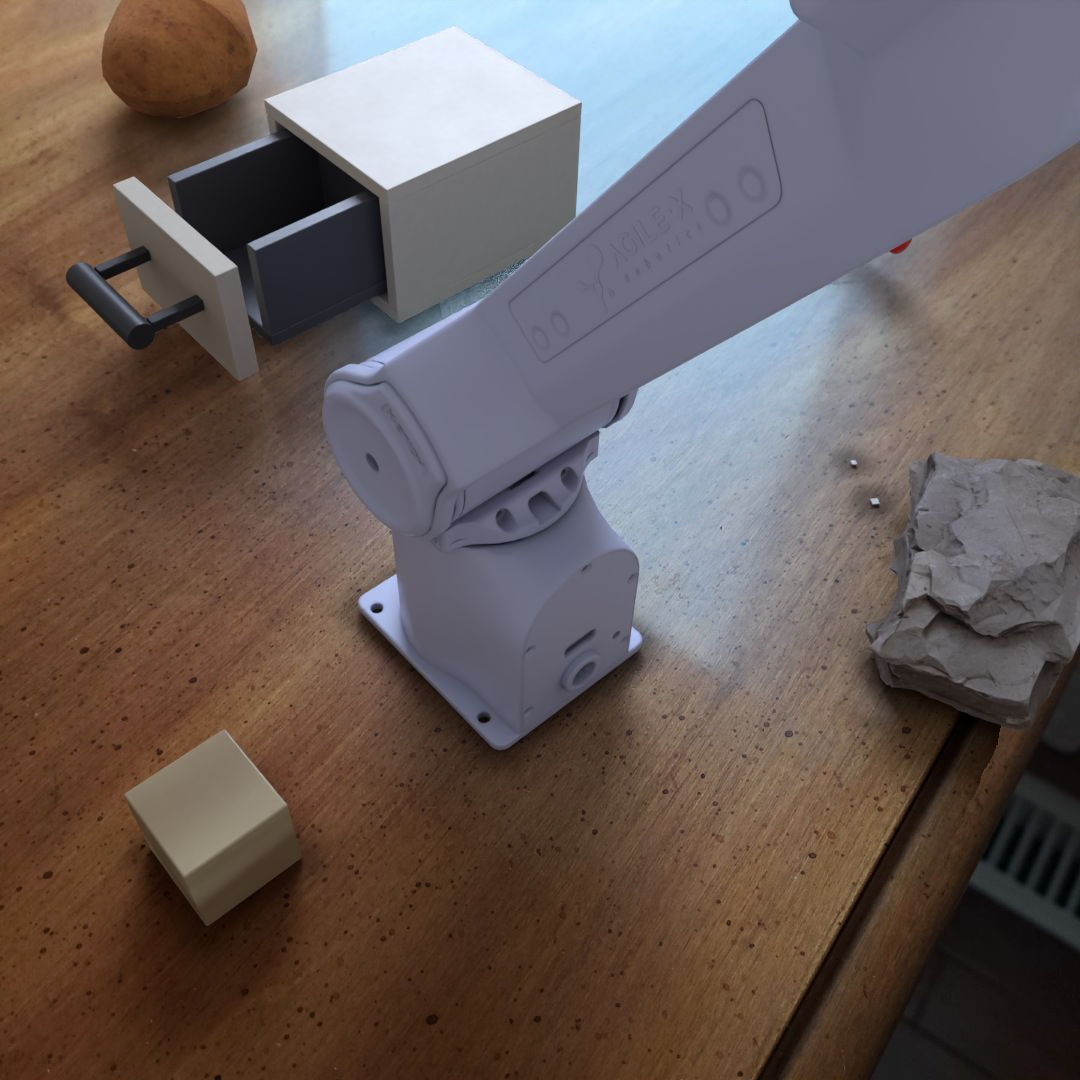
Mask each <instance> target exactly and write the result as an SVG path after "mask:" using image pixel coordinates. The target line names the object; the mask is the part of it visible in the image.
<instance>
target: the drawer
mask: <svg viewBox="0 0 1080 1080" xmlns="http://www.w3.org/2000/svg"><path fill="white" fill-rule="evenodd" d="M166 180H167V183H168V189H169V192H170V195H171V200H172V204H173V209H172V208H171V207H170V206H169V205H167V204H166V203H165V202H164V201H163V200H162V199H161V198H160V197H158V196H157V195H156V194H155V193H154V192H152V191H151V190H150V189H149V188H148V187H147V185H144V184H143V183H142V182H141V181H140V180H139V179H138V178H136V177H135V176H131V177H129V178H126V179H123V180H122V181H119V182H116V183H113V184H112V189H113V193H114V195H115V199H116V203H117V206H118V210H119V214H120V216H121V220H122V224H123V228H124V230H125V234H126V237H127V240H128V241H127V242H128V244H129V247H130V250H129V251H127V252H125V253H123V254H120V255H118V256H115V257H112V258H111V259H109V260H107V261H103V262H102V263H99V264H97V265H94V266H92V265H90V263H87V262H83V261H82V262H81V261H80V262H76V263H74V264H72V265H71V266H70V267H69V268H68V269H67V271H66V274H65V281H66V284H67V285H68V286H69V287H70V288H71V289H72V290H73V291H74V292H75V293H76V294H77V295H78V296H79V297H80V298H81V299H82V300H83V301H84V303H86V305H88V307H90V308H91V309H92V310H93V311H94V312H95V313H96V314H97V316H98V317H100V319H102V321H103V322H104V323H105V324H107V326H109V328H110V329H111V330H112V331H114V333H115V334H116V335H117V336H118V337H119V338H121V340H122V341H123V342H124V343H125V344H127V346H128V347H129V348H131V349H132V350H135V351H142V350H145V349H148V347H150V346H151V345H152V344H153V343H154V341H155V339H156V334H157V333H158V332H160V331H162V330H165V329H166V328H170V327H171V326H174V325H175V324H178V325H179V326H180V327H181V328H182V329H184V331H185V332H187V333H188V334H189V335H190V336H191V337H192V338H193V339H194V340H195V341H196V342H197V343H198V344H199V345H200V346H201V347H202V348H203V349H204V350H205V351H206V352H207V353H208V354H210V355H211V356H212V357H213V358H214V359H215V360H216V361H217V362H218V363H219V364H220V365H221V366H222V367H223V368H224V369H225V370H226V371H227V372H228V373H229V374H230V375H232V376H233V377H234V378H235V379H236V381H238V382H241V381H243V380H244V379H247V378H249V377H251V376H253V375H254V374H257V373H259V371H260V368H259V363H258V359H257V353H256V349H255V343H254V340H253V339H254V338H253V333H252V330H251V328H252V329H253V330H254V331H255V332H256V333H257V334H258V335H259V336H260V337H261V338H262V339H263V340H265V341H266V342H267V344H269V345H270V346H271V347H272V348H276V347H277V346H279V345H282V344H284V343H286V342H288V341H290V340H291V339H294V338H296V337H298V336H300V335H302V334H303V333H306V332H308V331H310V330H312V329H313V328H315V327H317V326H319V325H322V324H323V323H325V322H326V323H327V322H328V321H329V320H332V319H334V318H336V317H337V316H340V315H342V314H344V313H346V312H348V311H350V310H351V309H354V308H356V307H358V306H360V305H362V304H364V303H366V302H368V301H370V299H372V298H374V297H376V296H378V295H380V294H382V293H384V292H386V291H388V289H387V278H386V268H385V257H384V246H383V235H382V225H381V214H380V203H379V197H378V196H377V195H375V194H374V193H372V192H371V191H370V190H368V189H367V188H366V187H364V186H363V185H362V184H360V183H359V182H358V181H356V180H355V179H354V178H352V177H351V176H350V175H348V174H347V173H346V172H344V171H343V170H342V169H340V168H339V167H338V166H336V165H335V164H333V163H332V162H331V161H329V160H328V159H327V158H325V157H324V156H323V155H321V154H320V153H319V152H317V151H316V150H315V149H313V148H312V147H311V146H309V145H308V144H307V143H305V142H304V141H303V140H301V139H300V138H298V137H297V136H296V135H294V134H293V133H292V132H290V131H289V130H288V129H286V128H285V129H283V130H280V131H278V132H275V133H273V134H270V133H269V134H267V135H266V136H263V137H261V138H258V139H256V140H253V141H251V142H249V143H246V144H244V145H241V146H238V147H235V148H233V149H231V150H229V151H226V152H224V153H222V154H221V153H220V154H219V155H217V156H214V157H212V158H208V159H206V160H204V161H202V162H199V163H196V164H194V165H192V166H188V167H186V168H184V169H181V170H178V171H176V172H175V173H172V174H170V175H169V174H168V175H167V176H166ZM135 268H136V272H137V275H138V279H139V282H140V286H141V289H142V291H144V293H146V295H148V296H149V297H150V298H151V300H153V301H154V302H155V303H156V304H157V305H158V306H159V307H160V308H162V310H158V311H157V312H155V313H153V314H151V315H148V316H146V317H144V316H143V315H142V314H141V313H140V312H139V311H137V309H136V308H135V307H133V306H132V305H131V304H130V302H129V301H128V300H126V299H125V298H124V297H123V296H122V294H120V293H119V292H118V291H117V290H116V289H115V288H114V287H113V286H112V285H111V284H110V283H109V282H108V280H109V279H112V278H114V277H116V276H118V275H121V274H123V273H125V272H128V271H130V270H132V269H135Z"/></svg>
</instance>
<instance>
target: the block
mask: <svg viewBox="0 0 1080 1080" xmlns="http://www.w3.org/2000/svg"><path fill="white" fill-rule="evenodd" d="M123 797H124V799H125V802H126V803H127V805H128V808H129V809H130V812H131V814H132V816H133V818H134V819H135V821H136V823H137V826H138V827H139V829H140V832H141V833H142V835H143V837H144V839H145V842H146V843H147V845H148V847H149V849H150V850H151V851H152V854H154V856H155V857H156V858H157V860H158V861H159V863H160V864H161V866H162V867H163V868H164V869H165V871H166V872H167V874H168V875H169V877H170V879H172V881H173V882H174V884H175V885H176V886H177V888H178V889H179V891H180V892H181V893H182V895H183V896H184V898H185V899H186V900H187V902H188V903H189V905H190V906H191V907H192V909H193V910H194V912H195V913H196V914H197V916H198V917H199V918H200V920H201V921H202V922H203V924H204V925H205V926H207V927H208V926H211V925H212V924H213V923H214V922H216V921H218V920H219V919H220V918H221V917H223V916H224V915H226V914H227V913H228V912H230V911H232V909H234V908H235V907H236V906H238V905H239V904H241V903H242V902H244V901H245V900H246V899H247V898H249V897H250V896H251V895H253V894H254V893H256V892H257V891H258V890H260V889H261V888H262V887H264V886H266V885H267V884H269V882H271V881H272V880H273V879H275V878H276V877H278V876H279V875H280V874H282V873H283V872H285V871H286V870H287V869H288V868H290V867H291V866H293V865H294V864H295V863H297V862H298V861H299V860H301V859H302V858H303V854H302V850H301V847H300V844H299V843H300V842H299V840H298V837H297V834H296V829H295V826H294V823H293V820H292V816H291V813H290V809H289V806H288V803H287V802H286V801H285V799H283V797H282V796H281V794H279V792H278V791H277V790H276V788H275V787H274V786H273V785H272V784H271V782H269V780H268V779H267V777H265V775H264V774H263V773H262V771H260V769H259V768H258V767H257V765H255V763H254V762H253V761H252V760H251V758H250V757H249V756H248V755H247V753H246V752H245V751H244V750H243V749H242V747H241V746H240V745H239V743H238V742H237V741H236V740H235V739H234V738H233V736H232V735H231V734H230V733H229V731H228V730H227V729H222V730H220V731H218V732H217V733H215V734H214V735H212V736H210V737H209V738H207V739H206V740H204V741H203V742H201V743H200V744H198V745H196V747H194V748H192V749H191V750H189V751H188V752H186V753H184V754H183V755H181V756H180V757H178V758H177V759H175V760H174V761H173V762H171V763H169V764H167V765H166V766H165V767H163V768H161V769H159V771H157V772H155V773H153V774H152V775H151V776H149V777H148V778H146V779H144V780H143V781H141V782H140V783H138V784H137V785H135V786H134V787H133V788H131V789H129V790H128V791H126V792H125V793H124V794H123Z"/></svg>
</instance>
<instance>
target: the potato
mask: <svg viewBox="0 0 1080 1080" xmlns="http://www.w3.org/2000/svg"><path fill="white" fill-rule="evenodd" d="M250 23H251V22H250V19H249V16H248V12H247V9H246V5H245V3H244V2H243V0H120V2H119V3H118V5H117V7H116V9H115V11H114V14H113V15H112V17H111V19H110V22H109V24H108V26H107V28H106V31H105V33H104V37H103V44H102V52H101V71H102V77H103V79H104V80H105V82H106V83H107V85H108V86H109V88H110V89H111V91H112V92H113V94H115V96H117V97H118V98H119V99H120V100H121V101H122V102H123V103H124V104H125V105H126V106H127V107H129V108H131V109H133V110H134V111H136V112H140V113H143V114H146V115H149V116H152V117H158V118H174V119H179V118H185V117H188V116H192V115H196V114H198V113H201V112H203V111H206V110H210V109H211V108H214V107H216V106H219V105H222V104H224V103H225V102H226V101H228V100H230V98H232V97H233V96H235V95H237V94H238V93H239V92H240V91H242V90H243V89H244V88H245V87H247V86H248V84H249V80H250V77H251V74H252V71H253V67H254V63H255V60H256V57H257V53H258V50H259V49H258V45H257V42H256V39H255V36H254V33H253V30H252V27H251V24H250Z"/></svg>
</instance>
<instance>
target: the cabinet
mask: <svg viewBox="0 0 1080 1080" xmlns="http://www.w3.org/2000/svg"><path fill="white" fill-rule="evenodd" d="M263 101H264V108H265V114H266V119H267V124H268V129H269V135H270V134H273V133H275V132H278V131H280V130H283V129H285V128H286V129H288V130H289V131H290V132H292V133H293V134H294V135H296V136H297V137H298V138H300V139H301V140H303V141H304V142H305V143H307V144H308V145H309V146H311V147H312V148H313V149H315V150H316V151H317V152H319V153H320V154H321V155H323V156H324V157H325V158H327V159H328V160H329V161H331V162H332V163H333V164H335V165H336V166H338V167H339V168H340V169H342V170H343V171H344V172H346V173H347V174H348V175H350V176H351V177H352V178H354V179H355V180H356V181H358V182H359V183H360V184H362V185H363V186H364V187H366V188H367V189H368V190H370V191H371V192H372V193H374V194H375V195H377V196H378V197H379V203H380V214H381V225H382V235H383V246H384V257H385V268H386V278H387V289H388V291H386V292H384V293H382V294H380V295H378V296H376V297H374V298H372V299H370V300H369V301H370V302H372V304H374V305H375V306H376V307H378V308H379V309H380V310H381V311H382V312H384V313H385V314H386V315H387V316H388V317H390V318H391V319H392V320H393V321H394V322H396V323H397V324H402V323H404V322H405V321H406V320H409V319H411V318H413V317H415V316H417V315H419V314H421V313H423V312H425V311H427V310H429V309H430V308H433V307H435V306H436V305H438V304H441V303H442V302H445V301H446V300H448V299H450V298H452V297H454V296H456V295H457V294H459V293H461V292H463V291H465V290H467V289H469V288H471V287H473V286H475V285H477V284H478V283H481V282H482V281H485V280H486V279H488V278H490V277H493V276H494V275H496V274H498V273H500V272H502V271H504V270H506V269H508V268H510V267H512V266H513V265H516V264H518V263H520V262H521V261H523V260H526V259H527V258H530V257H531V256H532V255H533V254H535V253H536V252H537V251H538V250H539V249H540V248H541V247H542V246H544V245H545V244H546V243H547V242H548V241H549V240H550V239H551V238H553V237H554V236H555V235H556V234H557V233H558V232H559V231H561V230H562V229H563V228H564V227H565V226H566V225H567V224H568V223H570V222H571V221H572V220H573V219H574V218H575V217H576V216H577V203H578V202H577V199H578V184H579V183H578V182H579V164H580V163H579V162H580V146H581V145H580V143H581V126H582V125H581V123H582V107H583V102H582V101H581V100H579V99H577V98H575V97H574V96H572V95H571V94H569V93H567V92H566V91H564V90H562V89H560V88H559V87H558V86H555V85H554V84H552V83H550V82H549V81H547V80H546V79H544V78H542V77H541V76H540V75H538V74H535V73H534V72H532V71H530V70H529V69H527V68H526V67H524V66H522V65H521V64H519V63H517V62H516V61H514V60H512V59H511V58H509V57H507V56H506V55H504V54H502V53H500V52H498V51H497V50H495V49H494V48H492V47H490V46H489V45H487V44H485V42H484V43H483V42H482V41H480V40H479V39H477V38H476V37H474V36H472V35H470V34H469V33H467V32H465V31H464V30H462V29H460V28H459V27H457V26H455V25H453V26H450V27H448V28H445V29H442V30H440V31H438V32H435V33H432V34H430V35H427V36H425V37H422V38H420V39H416V40H414V41H412V42H409V43H407V44H404V45H402V46H399V47H395V48H394V49H391V50H388V51H386V52H384V53H381V54H378V55H375V56H373V57H370V58H368V59H365V60H363V61H360V62H358V63H355V64H353V65H350V66H348V67H345V68H342V69H339V70H337V71H335V72H331V73H328V74H327V75H324V76H321V77H319V78H316V79H314V80H312V81H309V82H307V83H306V82H305V83H304V84H301V85H298V86H296V87H293V88H291V89H289V90H286V91H283V92H280V93H278V94H275V95H273V96H270V97H267V98H264V99H263Z"/></svg>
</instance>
